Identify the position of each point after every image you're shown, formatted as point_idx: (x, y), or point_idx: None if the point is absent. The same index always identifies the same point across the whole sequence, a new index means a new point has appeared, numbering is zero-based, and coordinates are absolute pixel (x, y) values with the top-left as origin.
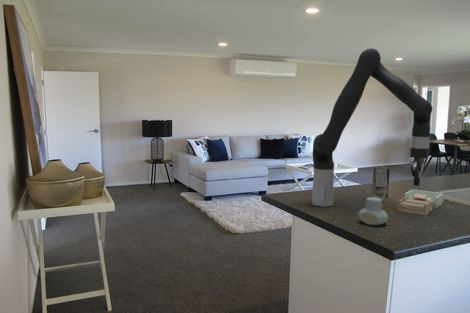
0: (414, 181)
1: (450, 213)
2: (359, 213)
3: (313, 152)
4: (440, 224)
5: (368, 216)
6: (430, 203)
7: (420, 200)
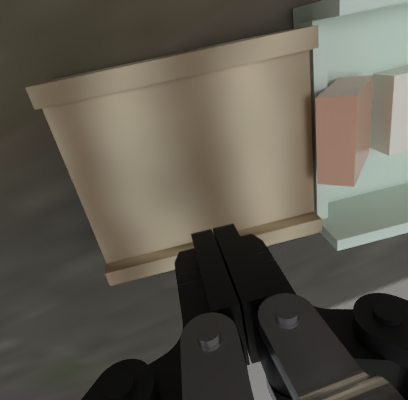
0: (178, 283)
1: None
2: None
3: None
4: (27, 353)
5: None
6: None
7: (308, 146)
